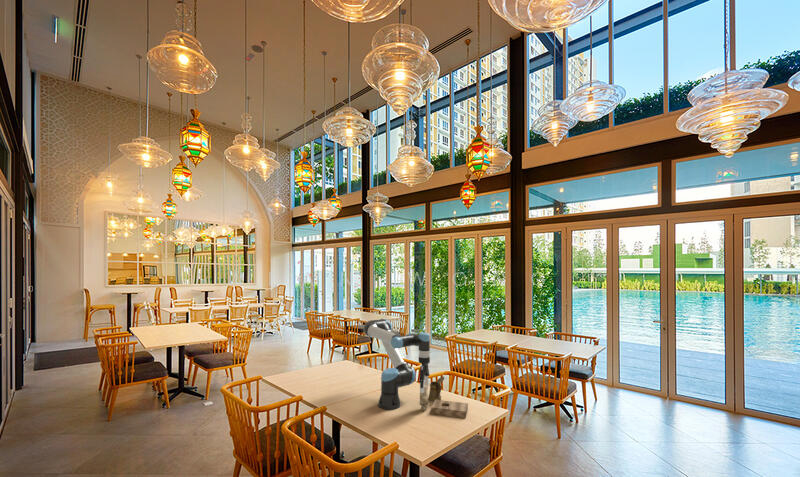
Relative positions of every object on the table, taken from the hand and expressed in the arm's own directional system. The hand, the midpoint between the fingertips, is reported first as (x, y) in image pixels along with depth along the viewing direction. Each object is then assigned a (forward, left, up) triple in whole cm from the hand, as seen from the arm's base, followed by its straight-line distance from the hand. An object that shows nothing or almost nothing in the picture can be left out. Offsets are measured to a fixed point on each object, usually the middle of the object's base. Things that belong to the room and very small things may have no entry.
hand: (424, 389), depth 236 cm
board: (+17, +2, -13) cm, 21 cm away
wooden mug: (+5, +20, -13) cm, 25 cm away
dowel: (0, 0, -13) cm, 13 cm away
